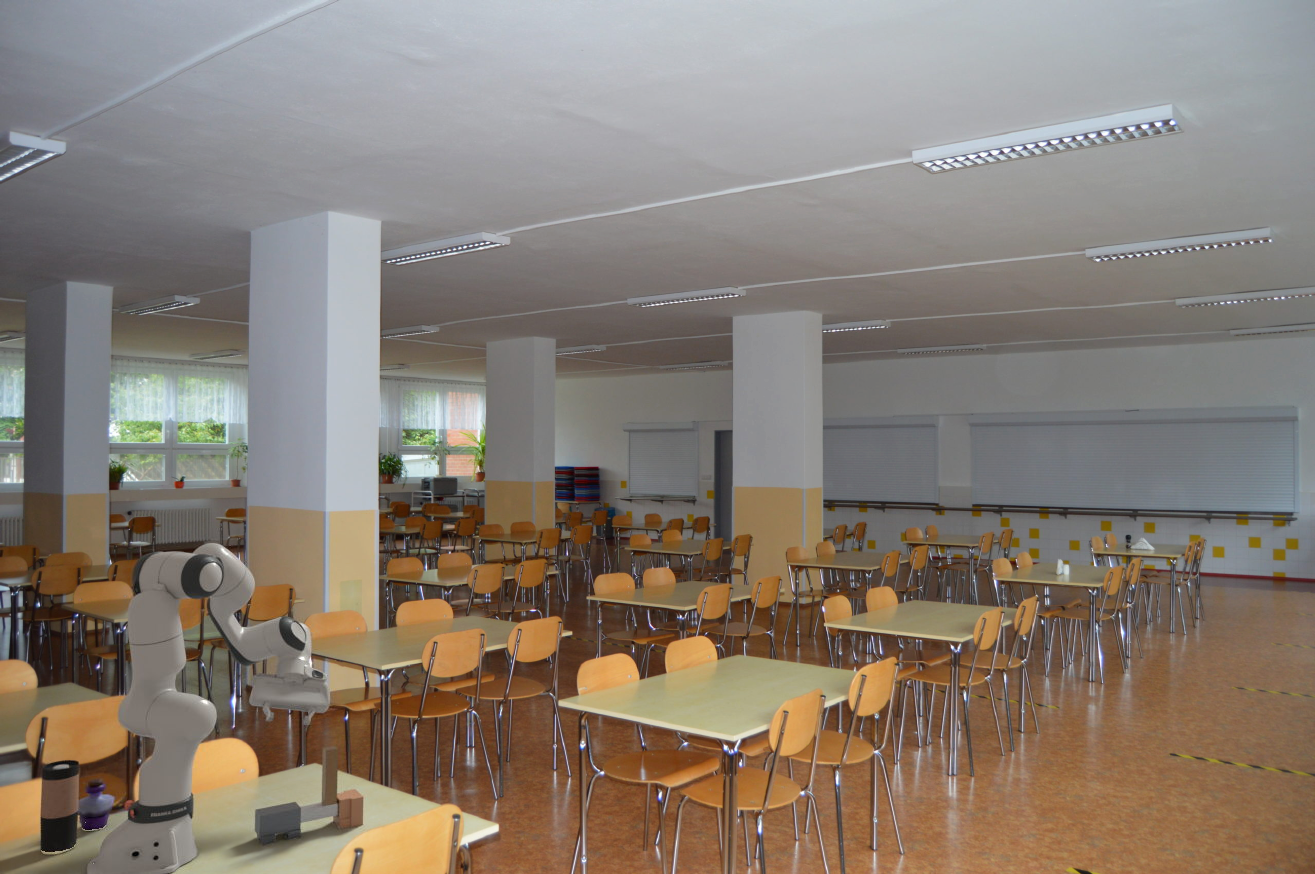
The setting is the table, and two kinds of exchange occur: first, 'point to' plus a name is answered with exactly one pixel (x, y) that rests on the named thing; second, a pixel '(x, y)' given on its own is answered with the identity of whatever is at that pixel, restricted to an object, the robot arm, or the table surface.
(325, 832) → the table surface
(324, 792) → the upright mallet
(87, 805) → the potion bottle
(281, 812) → the sleeve
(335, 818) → the socket block
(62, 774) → the travel mug
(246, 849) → the table surface
